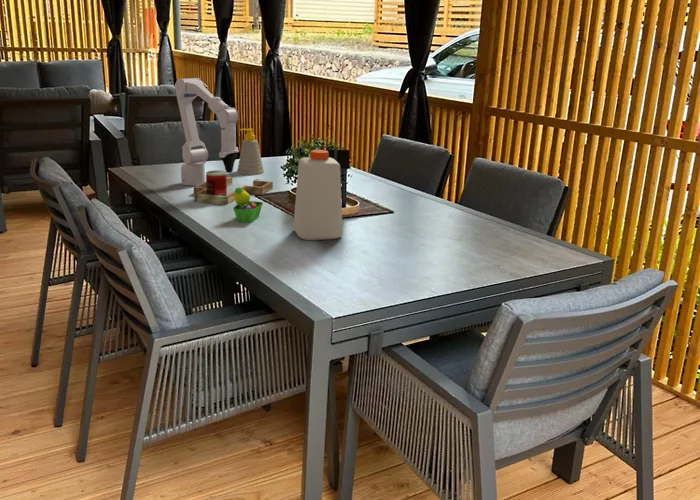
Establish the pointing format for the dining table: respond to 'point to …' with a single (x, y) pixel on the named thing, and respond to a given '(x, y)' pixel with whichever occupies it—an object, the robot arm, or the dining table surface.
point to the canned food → (216, 183)
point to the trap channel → (257, 188)
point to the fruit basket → (246, 206)
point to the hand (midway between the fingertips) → (229, 172)
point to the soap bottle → (250, 156)
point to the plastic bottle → (318, 198)
